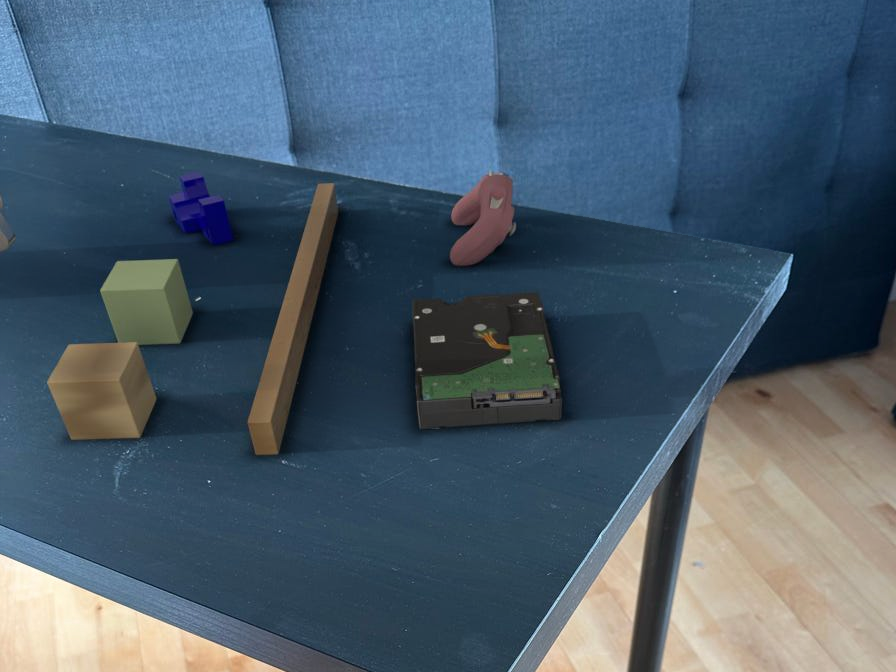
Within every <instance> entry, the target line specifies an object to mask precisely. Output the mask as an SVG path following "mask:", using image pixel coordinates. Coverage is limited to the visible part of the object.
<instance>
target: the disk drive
mask: <svg viewBox="0 0 896 672" xmlns="http://www.w3.org/2000/svg"><path fill="white" fill-rule="evenodd" d="M543 305H544V303H543V302H542V299H541V296H540V292H539V291H527V292H515V293H503V294H502V293H498V294H481V295H467V296H466V297H464V298H462V300H459V301H457V302H455V303H453V304H451V303H448V302H447V301H443V299H442V298H441V297H435V298H420V299H419V298H418V299H413V300H412V309H411V311H412V314H411V315H412V326H413V341H414V342H413V344H414V348H413V349H414V369H415V380H414V384H415V385H414V387H415V397H416V406H417V407H416V408H417V417H418V426H419V429H420V430H427V429H431V430H437V429H450V428H451V429H452V428H461V427H462V428H465V427H480V426H490V425H505V424H519V423H520V424H522V423H529V422H530V423H532V422H533V423H536V422H537V421H539V422H541V421H546V422H547V421H552V420H553V421H559V420H561V419H562V410H563V409H562V407H563V396H562V391H561V386H560V372H559V368H558V366H557V362H556V358H555V354H554V351H553V345H552V342H551V338H550V337H551V336H550V334H549V329H548V325H547V321H546V316H545V311H544V306H543Z"/></svg>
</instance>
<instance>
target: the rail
mask: <svg viewBox="0 0 896 672" xmlns="http://www.w3.org/2000/svg"><path fill="white" fill-rule="evenodd" d="M337 198H338V197H337V192H336V185H335V183H334V182H329V183H317V187H316V190H315V193H314V197H313V200H312V202H311V206H310V211H309V214H308V217H307V220H306V223H305V227H304V231H303V233H302V237H301V241H300V244H299V246H298V250H297V254H296V258H295V261H294V264H293V266H292V267H293V268H292V271H291V274H290V278H289V282H288V283H287V288H286V291H285V294H284V298H283V301H282V304H281V307H280V311H279V315H278V318H277V320H276V321H277V322H276V325H275V328H274V331H273V335H272V339H271V341H270V345H269V347H268V348H269V349H268V352H267V355H266V358H265V362H264V365H263V369H262V373H261V375H260V378H259V382H258V386H257V388H256V392H255V396H254V400H253V402H252V405H251V410H250V412H249V415H248V420H247V426H248V431H249V433H250V438H251V442H252V445H253V448H254V453H255V455H256V456H262V455H265V456H267V455H279V453H280V450H281V445H282V441H283V437H284V433H285V429H286V426H287V422H288V418H289V414H290V410H291V405H292V401H293V397H294V394H295V389H296V385H297V381H298V377H299V373H300V369H301V365H302V361H303V357H304V352H305V349H306V344H307V341H308V336H309V332H310V328H311V324H312V321H313V316H314V312H315V308H316V304H317V300H318V296H319V293H320V287H321V284H322V280H323V276H324V272H325V268H326V263H327V260H328V255H329V253H330V247H331V243H332V239H333V235H334V231H335V227H336V223H337V220H338V216H339V206H338V199H337Z"/></svg>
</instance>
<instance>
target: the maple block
mask: <svg viewBox="0 0 896 672" xmlns="http://www.w3.org/2000/svg"><path fill="white" fill-rule="evenodd" d="M46 384H47V386H48V388H49V391H50V393H51V395H52V397H53V400H54V402H55V404H56V407H57V409H58V411H59V414H60V415H61V418H62V421H63V423H64V426H65V428H66V430H67V433H68V435H69V437H70V440H71V441H73V440H75V441H76V440H77V441H78V440H107V439H111V440H112V439H136V438H137V439H140V438H141V437H142V435H143V433H144V431H145V427H146V425H147V422H148V420H149V419H150V415H151V413H152V411H153V408H154V406H155V404H156V401H157V396H156V393H155V390H154V387H153V385H152V382H151V379H150V376H149V372H148V370H147V366H146V364H145V361H144V358H143V355H142V351H141V348H140V345H138V343H137V342H126V343H118V342H101V343H99V342H98V343H71V344H68V345H67V347H66V349H65V350H64V352H63V354H62V355H61V357H60V359H59V360H58V362H57V364H56V366H55V368H53V371H52V372H51V374H50V376H49V378H48V379H47V381H46Z"/></svg>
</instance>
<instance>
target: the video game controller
mask: <svg viewBox="0 0 896 672" xmlns="http://www.w3.org/2000/svg"><path fill="white" fill-rule="evenodd" d="M513 185H514V180H513V178H512V177H510V176H509V175H508V174H506V173H503V172H497V173H494V172H493V170H492V169H490V170H489V173H488V174H484V175H483V176H482V177H481V179H480V180H479V182H478V183H477V184H476V186H474V187H473V188H472V189H471V190H470V191H469V192H468V193H466V194H465V195H464V196H463V197H461V198H460V199H459V200H458V201H457V202H456V204H455V205H454V207H453V208H452V211H451V215H450V216H451V218H450V219H451V221H452V223H453V224H454V225H456V226H472V227H471V228H470V229H469V230H467V231H466V232H465V233H464V234H463V235H461V237H459V238H458V239H457V240H456V242H455V243H454V244H453V246H452V247H451V249H450V252H449V260H450V261H451V263H452V264H453V265H454V266H457V267H459V266H460V267H462V266H465V267H466V266H472V265H475V264H478V263H480V262H481V261H482V260H484V259H485V258H487V257H488V256H489V255H490V254H493V253H494V251H495V249H496V248H498V246H501V244H502V243H503V242H504V241H505V239H506V237H507V235H508V237H512V235H513V234H514V233H515V232H516V229H517V224H516V221H513V219H514V215H515V207H514V206H513V205H512V202H513V194H514V186H513Z"/></svg>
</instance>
